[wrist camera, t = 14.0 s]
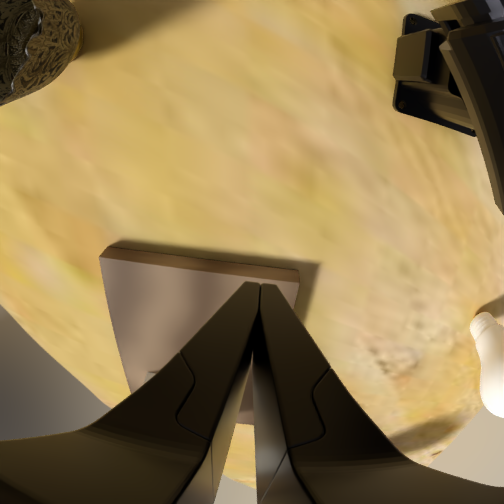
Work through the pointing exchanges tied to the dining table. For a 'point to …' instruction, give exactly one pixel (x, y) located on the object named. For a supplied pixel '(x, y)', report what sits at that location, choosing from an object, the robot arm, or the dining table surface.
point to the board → (174, 305)
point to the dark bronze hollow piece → (35, 44)
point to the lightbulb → (490, 360)
